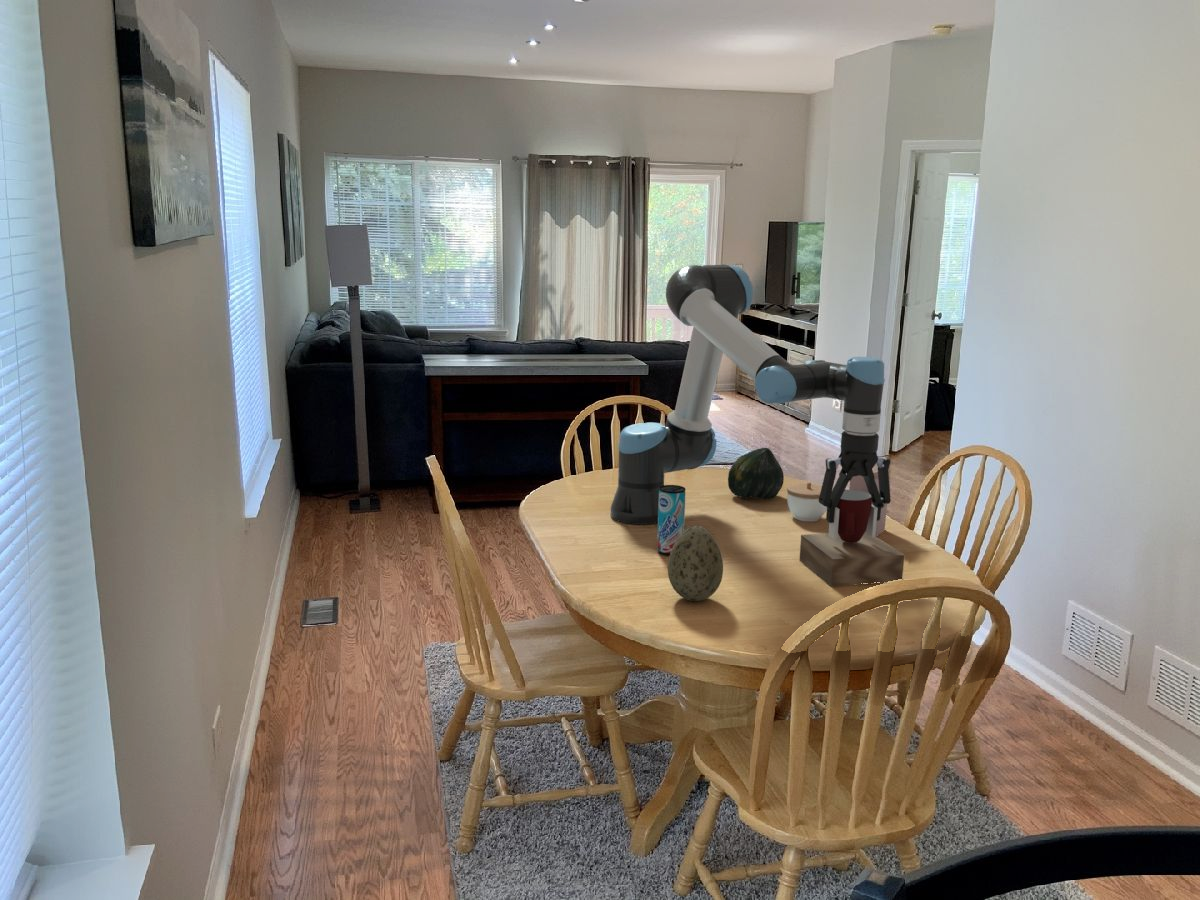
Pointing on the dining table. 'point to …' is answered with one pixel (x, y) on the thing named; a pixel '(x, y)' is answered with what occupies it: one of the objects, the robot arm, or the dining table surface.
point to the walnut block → (851, 559)
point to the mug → (853, 514)
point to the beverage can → (670, 517)
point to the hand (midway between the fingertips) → (851, 535)
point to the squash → (756, 475)
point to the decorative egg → (695, 564)
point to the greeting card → (860, 485)
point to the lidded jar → (805, 502)
